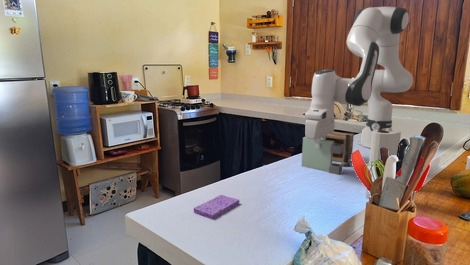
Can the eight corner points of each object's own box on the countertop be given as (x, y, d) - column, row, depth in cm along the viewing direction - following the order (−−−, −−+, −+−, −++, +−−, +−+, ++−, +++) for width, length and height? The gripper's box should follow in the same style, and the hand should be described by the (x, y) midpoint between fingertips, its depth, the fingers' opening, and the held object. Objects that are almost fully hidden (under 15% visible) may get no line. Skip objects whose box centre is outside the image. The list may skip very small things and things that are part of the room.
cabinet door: (304, 164, 132) (306, 136, 129) (342, 172, 122) (344, 142, 120) (300, 166, 129) (302, 138, 126) (338, 174, 119) (341, 144, 117)
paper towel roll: (363, 198, 98) (369, 131, 93) (369, 192, 102) (375, 128, 98) (387, 205, 93) (395, 134, 89) (393, 198, 98) (401, 131, 93)
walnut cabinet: (325, 153, 149) (326, 126, 146) (359, 159, 139) (361, 130, 137) (312, 160, 138) (313, 131, 135) (348, 167, 128) (351, 136, 126)
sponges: (193, 213, 88) (193, 207, 88) (221, 199, 98) (221, 193, 98) (212, 221, 84) (212, 214, 84) (239, 204, 94) (239, 199, 94)
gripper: (324, 108, 131) (322, 140, 134) (302, 114, 115) (301, 150, 118) (339, 110, 127) (337, 143, 130) (319, 116, 112) (316, 153, 115)
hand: (319, 146), depth 124 cm, fingers closed on cabinet door, 2 cm apart
